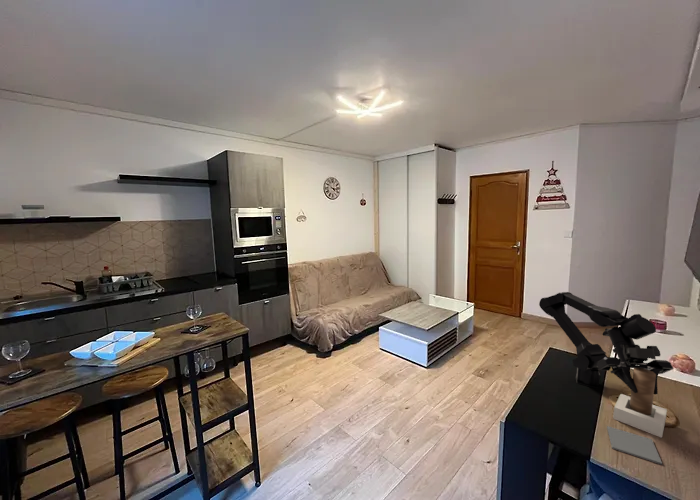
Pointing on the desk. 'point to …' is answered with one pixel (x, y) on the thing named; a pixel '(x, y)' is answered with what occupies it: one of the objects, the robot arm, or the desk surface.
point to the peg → (643, 391)
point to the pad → (633, 444)
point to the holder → (640, 416)
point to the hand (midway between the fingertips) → (646, 393)
